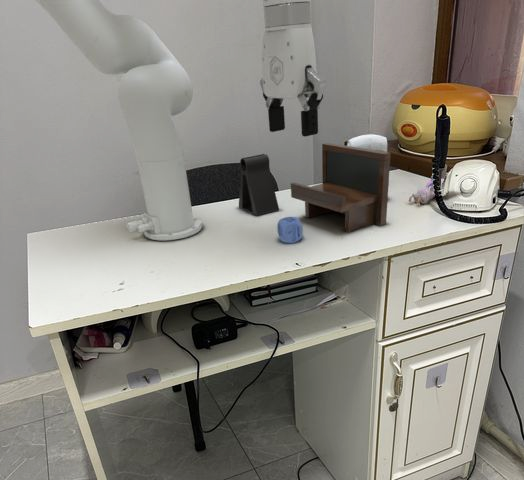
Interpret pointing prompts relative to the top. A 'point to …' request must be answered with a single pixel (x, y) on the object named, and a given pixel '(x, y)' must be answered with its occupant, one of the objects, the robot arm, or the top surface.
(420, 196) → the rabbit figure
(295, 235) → the decorative dice
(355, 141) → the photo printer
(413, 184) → the top surface
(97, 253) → the top surface
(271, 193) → the phone stand
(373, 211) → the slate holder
